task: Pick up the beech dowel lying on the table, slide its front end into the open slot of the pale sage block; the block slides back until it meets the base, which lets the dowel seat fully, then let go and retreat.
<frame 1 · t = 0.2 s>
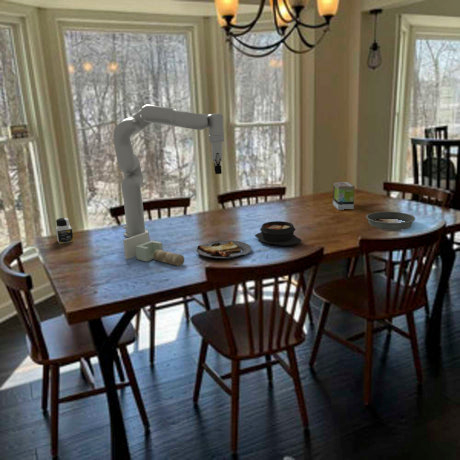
hand: (218, 172, 232), 31 cm above the table, tool pointing down, fingers open, 9 cm apart
base: (138, 254, 207), on the table
medicine bottle: (65, 241, 233), on the table
casserole: (277, 242, 218), on the table
food plate: (223, 253, 206), on the table
dowel: (169, 262, 196), on the table
block: (149, 250, 202), point 3 cm above the table, slide at 0.0 cm
cake pan: (389, 225, 239), on the table
tea box: (343, 207, 280), on the table
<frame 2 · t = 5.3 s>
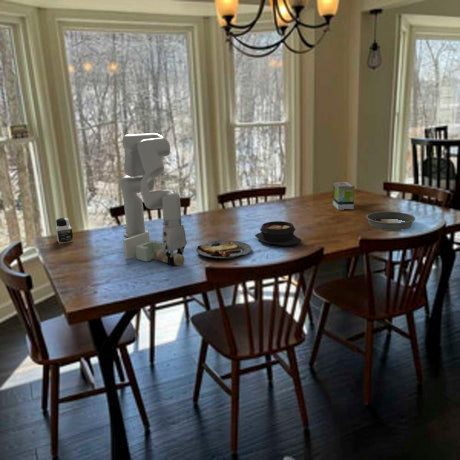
hand: (175, 262, 193), 1 cm above the table, tool pointing down, fingers closed on dowel, 4 cm apart
dowel: (169, 262, 196), on the table, touching gripper
everything else where it was.
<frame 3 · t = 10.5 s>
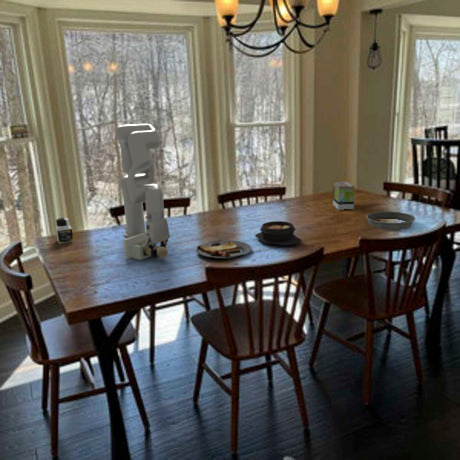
hand: (159, 255, 199), 2 cm above the table, tool pointing down, fingers closed on dowel, 4 cm apart
dowel: (152, 255, 201), point 1 cm above the table, touching block, gripper
block: (143, 249, 204), point 3 cm above the table, slide at 3.9 cm, touching dowel
everything else where it was.
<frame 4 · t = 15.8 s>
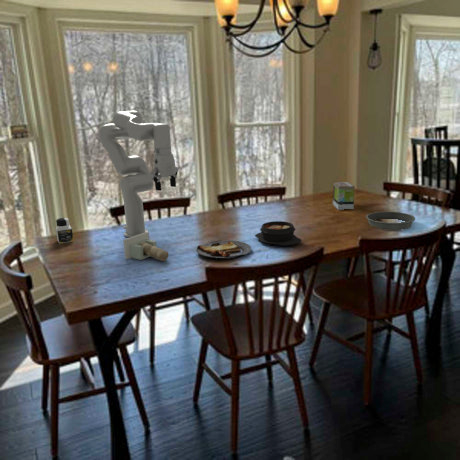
hand: (166, 188, 210), 28 cm above the table, tool pointing down, fingers open, 9 cm apart
dowel: (153, 256, 201), point 1 cm above the table, tilted 8°, touching block
everything else where it was.
at the end: block slide at 3.9 cm; dowel 0.0 cm from the target spot on the table beside the block, point 0.9 cm above the table; the gripper is holding nothing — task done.
